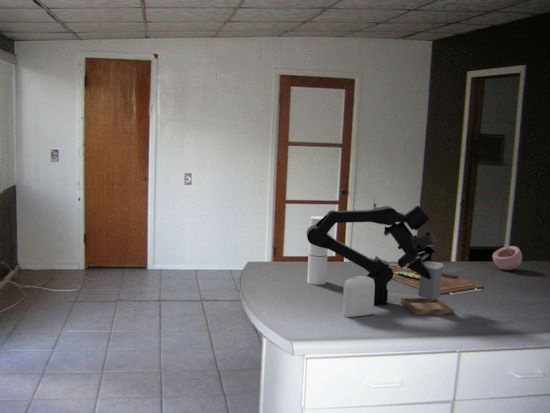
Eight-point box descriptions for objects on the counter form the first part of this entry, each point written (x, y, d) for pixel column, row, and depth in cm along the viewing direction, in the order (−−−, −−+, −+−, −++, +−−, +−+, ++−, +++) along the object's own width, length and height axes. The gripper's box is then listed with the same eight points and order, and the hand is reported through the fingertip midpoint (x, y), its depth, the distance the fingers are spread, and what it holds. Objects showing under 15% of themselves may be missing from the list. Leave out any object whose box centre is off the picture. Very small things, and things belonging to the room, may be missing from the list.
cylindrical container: (326, 280, 216) (329, 216, 213) (325, 285, 209) (329, 219, 206) (307, 279, 217) (310, 215, 214) (306, 284, 210) (309, 218, 207)
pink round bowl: (485, 267, 250) (487, 242, 249) (507, 266, 254) (509, 241, 252) (504, 273, 239) (506, 247, 237) (526, 272, 242) (529, 246, 241)
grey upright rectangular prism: (432, 299, 178) (435, 266, 176) (417, 296, 181) (420, 263, 180) (440, 297, 182) (443, 264, 180) (425, 293, 185) (428, 261, 184)
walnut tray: (415, 315, 177) (415, 309, 177) (400, 303, 190) (400, 297, 190) (453, 314, 179) (453, 309, 179) (436, 302, 192) (436, 297, 191)
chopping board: (361, 270, 238) (361, 263, 237) (407, 264, 251) (408, 258, 251) (440, 298, 199) (441, 290, 199) (490, 290, 213) (491, 282, 212)
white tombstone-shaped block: (347, 318, 171) (349, 279, 170) (340, 314, 175) (342, 276, 174) (375, 315, 176) (377, 277, 174) (367, 311, 180) (370, 273, 178)
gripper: (409, 227, 174) (440, 267, 169) (433, 221, 188) (463, 259, 183) (385, 247, 180) (414, 287, 174) (410, 240, 194) (438, 277, 189)
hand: (433, 277), depth 180 cm, fingers closed on grey upright rectangular prism, 5 cm apart
